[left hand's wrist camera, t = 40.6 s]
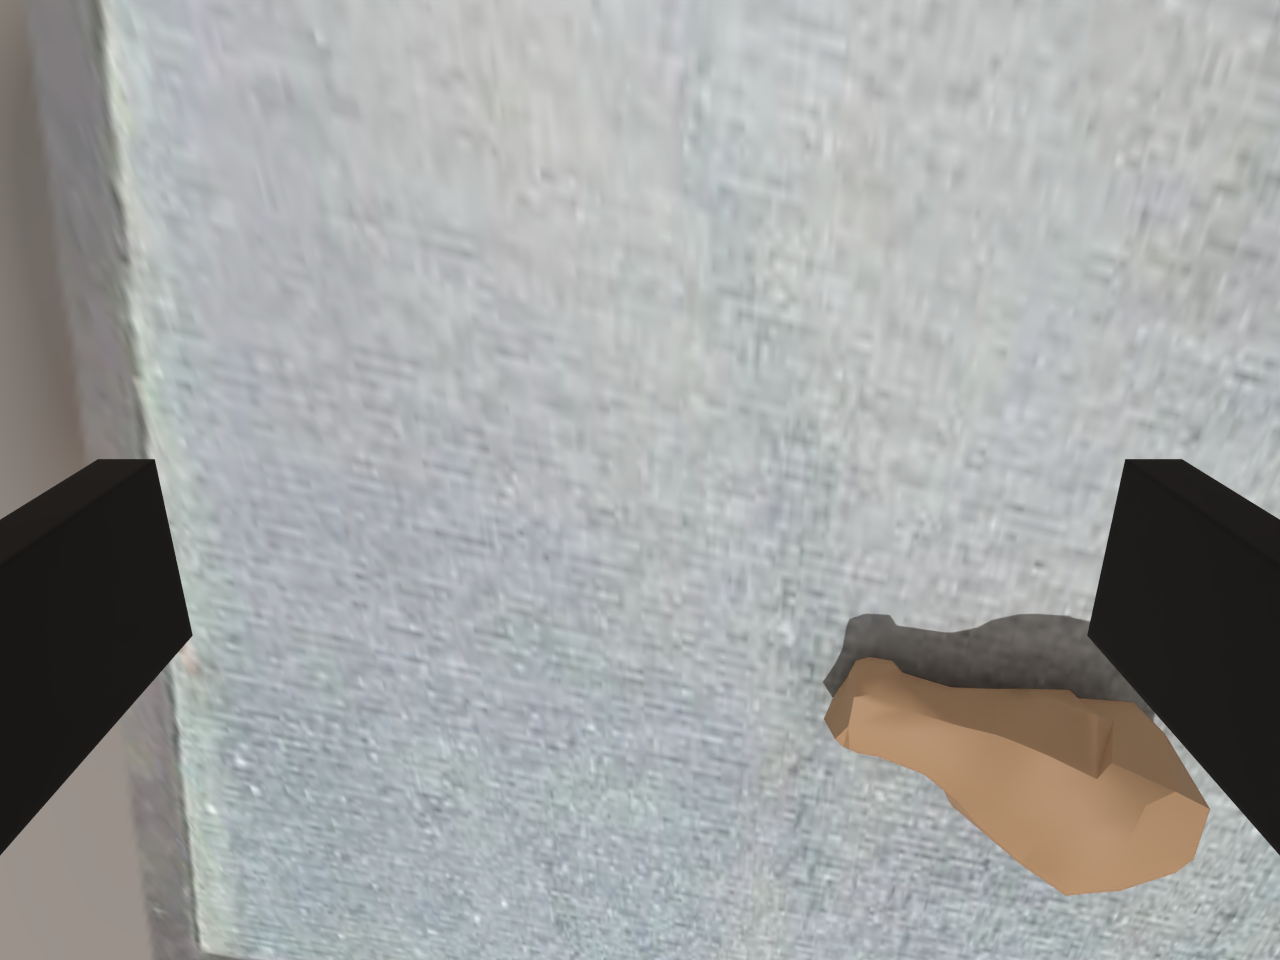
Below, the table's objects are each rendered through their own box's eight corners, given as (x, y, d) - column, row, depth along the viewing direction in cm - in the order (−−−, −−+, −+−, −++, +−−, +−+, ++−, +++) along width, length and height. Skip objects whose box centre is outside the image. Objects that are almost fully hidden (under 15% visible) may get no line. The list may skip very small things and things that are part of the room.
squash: (1102, 824, 55) (1147, 961, 48) (798, 715, 55) (794, 834, 48) (1208, 705, 50) (1279, 838, 42) (871, 584, 50) (880, 695, 42)
